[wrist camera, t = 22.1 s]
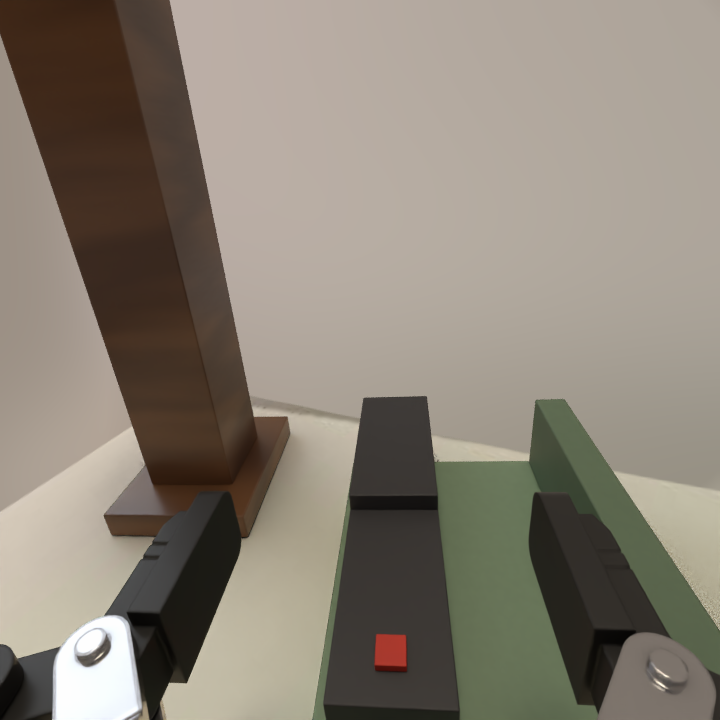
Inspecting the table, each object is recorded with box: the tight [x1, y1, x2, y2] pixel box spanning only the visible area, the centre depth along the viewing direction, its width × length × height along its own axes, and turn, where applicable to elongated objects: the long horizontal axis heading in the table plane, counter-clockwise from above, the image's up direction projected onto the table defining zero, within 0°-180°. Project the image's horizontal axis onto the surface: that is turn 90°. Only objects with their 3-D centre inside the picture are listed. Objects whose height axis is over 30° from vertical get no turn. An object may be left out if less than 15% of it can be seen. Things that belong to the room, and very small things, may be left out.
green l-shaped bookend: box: [312, 399, 720, 720], centre depth 18 cm, size 16×12×6 cm
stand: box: [0, 0, 290, 537], centre depth 22 cm, size 10×8×32 cm
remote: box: [323, 396, 460, 720], centre depth 21 cm, size 17×4×2 cm, turn 175°
